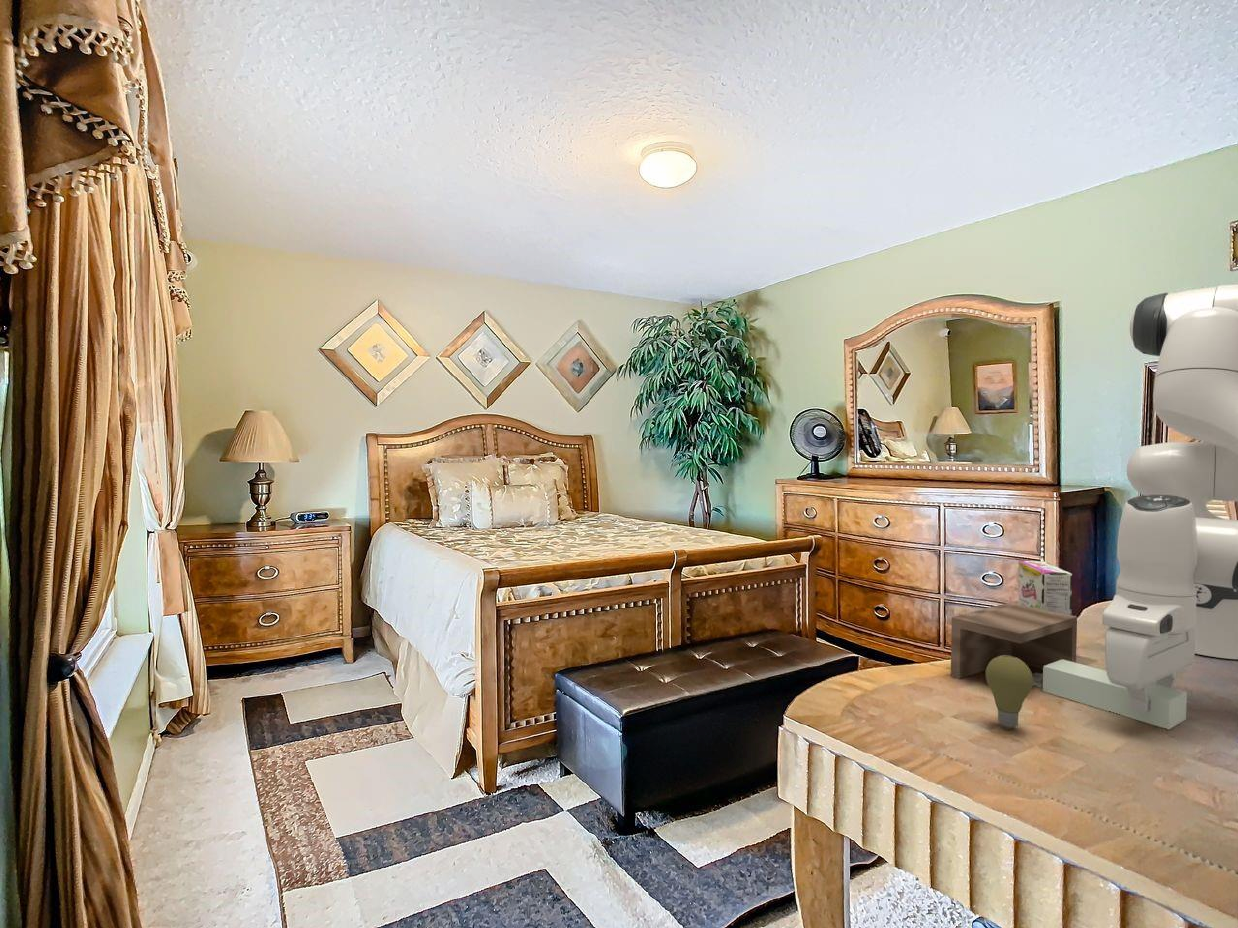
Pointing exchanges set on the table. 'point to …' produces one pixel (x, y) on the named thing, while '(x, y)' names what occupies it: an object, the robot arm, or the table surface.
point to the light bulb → (1009, 687)
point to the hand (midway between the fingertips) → (1151, 705)
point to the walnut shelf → (1011, 638)
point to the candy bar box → (1045, 587)
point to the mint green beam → (1113, 693)
